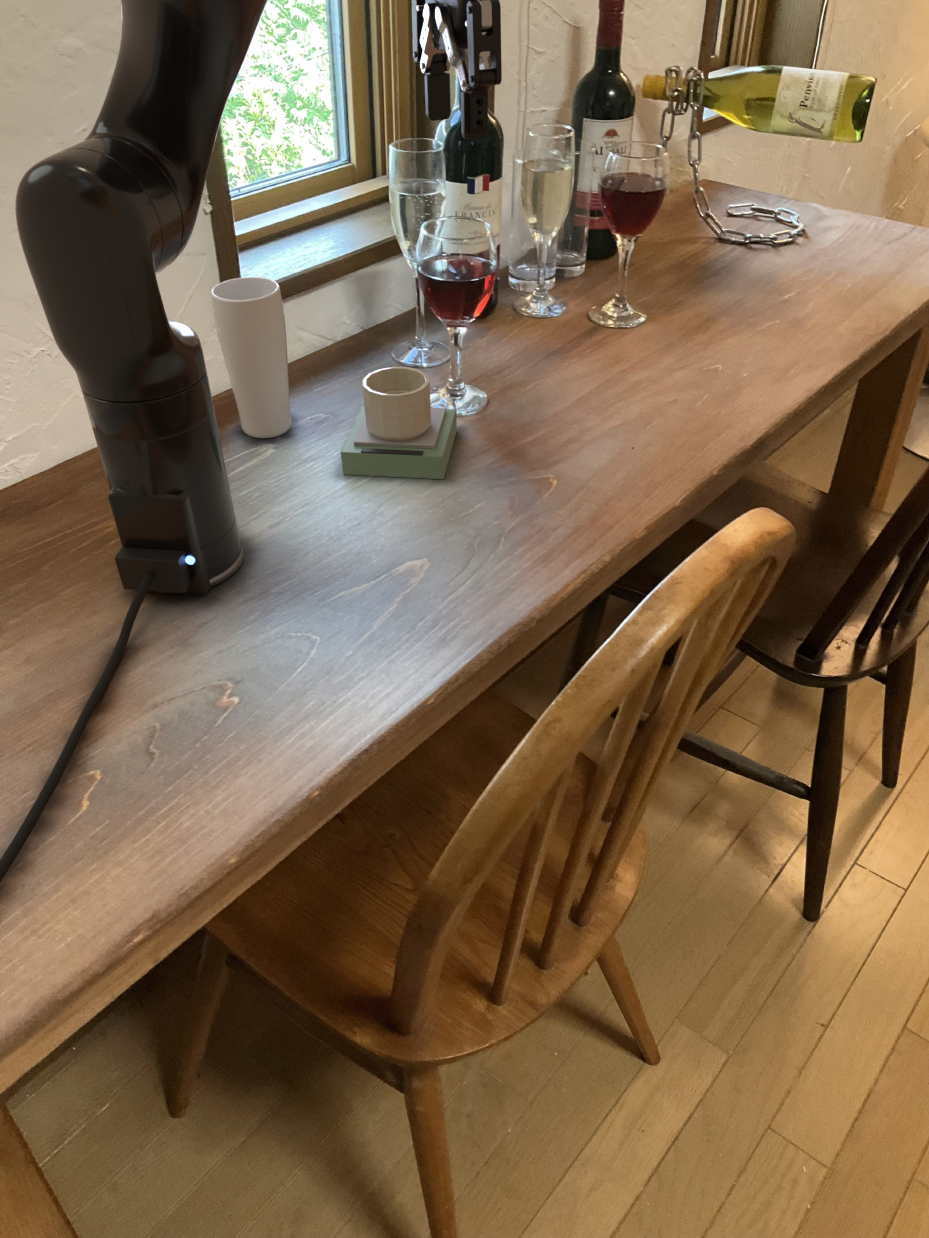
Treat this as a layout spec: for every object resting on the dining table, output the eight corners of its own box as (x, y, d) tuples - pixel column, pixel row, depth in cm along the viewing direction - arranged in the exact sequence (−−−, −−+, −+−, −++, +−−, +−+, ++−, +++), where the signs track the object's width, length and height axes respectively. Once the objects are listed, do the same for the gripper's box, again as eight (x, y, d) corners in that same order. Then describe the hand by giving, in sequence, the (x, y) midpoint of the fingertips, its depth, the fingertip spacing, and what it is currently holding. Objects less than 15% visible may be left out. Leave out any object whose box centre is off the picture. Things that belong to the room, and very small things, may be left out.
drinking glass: (294, 444, 99) (273, 301, 90) (229, 444, 99) (202, 301, 90) (304, 413, 105) (285, 276, 95) (242, 414, 105) (218, 276, 95)
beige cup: (426, 444, 93) (423, 397, 90) (359, 441, 93) (355, 394, 90) (436, 414, 98) (434, 368, 95) (373, 411, 98) (369, 365, 95)
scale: (443, 479, 93) (442, 453, 91) (343, 474, 94) (340, 448, 92) (456, 431, 101) (456, 405, 99) (363, 426, 102) (361, 401, 100)
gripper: (377, -97, 80) (390, 118, 90) (441, -90, 70) (447, 151, 80) (460, -100, 82) (463, 110, 93) (533, -94, 72) (528, 141, 82)
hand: (456, 129), depth 86 cm, fingers open, 8 cm apart
